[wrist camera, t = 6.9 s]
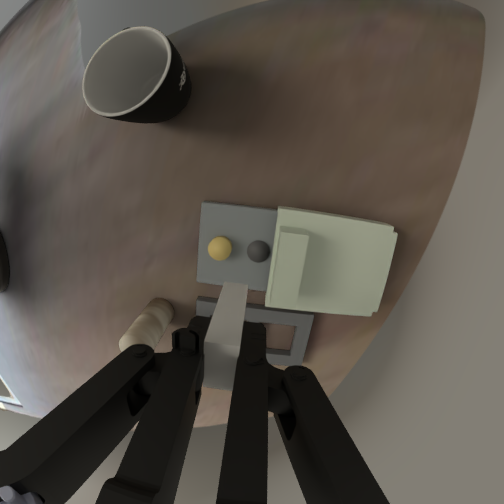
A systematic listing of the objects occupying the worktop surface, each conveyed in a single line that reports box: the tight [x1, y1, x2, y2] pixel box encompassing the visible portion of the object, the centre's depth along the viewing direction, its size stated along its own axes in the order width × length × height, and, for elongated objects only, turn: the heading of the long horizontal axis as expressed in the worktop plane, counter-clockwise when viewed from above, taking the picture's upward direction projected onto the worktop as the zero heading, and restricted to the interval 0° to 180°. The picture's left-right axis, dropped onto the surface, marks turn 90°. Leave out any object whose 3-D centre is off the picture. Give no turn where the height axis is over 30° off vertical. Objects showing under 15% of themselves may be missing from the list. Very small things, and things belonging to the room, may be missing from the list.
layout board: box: [197, 201, 278, 292], centre depth 30 cm, size 12×9×3 cm
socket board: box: [196, 296, 314, 366], centre depth 33 cm, size 14×8×1 cm, turn 83°
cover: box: [265, 206, 398, 317], centre depth 27 cm, size 13×10×5 cm
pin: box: [119, 298, 174, 352], centre depth 30 cm, size 4×4×9 cm
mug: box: [82, 26, 191, 123], centre depth 21 cm, size 12×9×10 cm
